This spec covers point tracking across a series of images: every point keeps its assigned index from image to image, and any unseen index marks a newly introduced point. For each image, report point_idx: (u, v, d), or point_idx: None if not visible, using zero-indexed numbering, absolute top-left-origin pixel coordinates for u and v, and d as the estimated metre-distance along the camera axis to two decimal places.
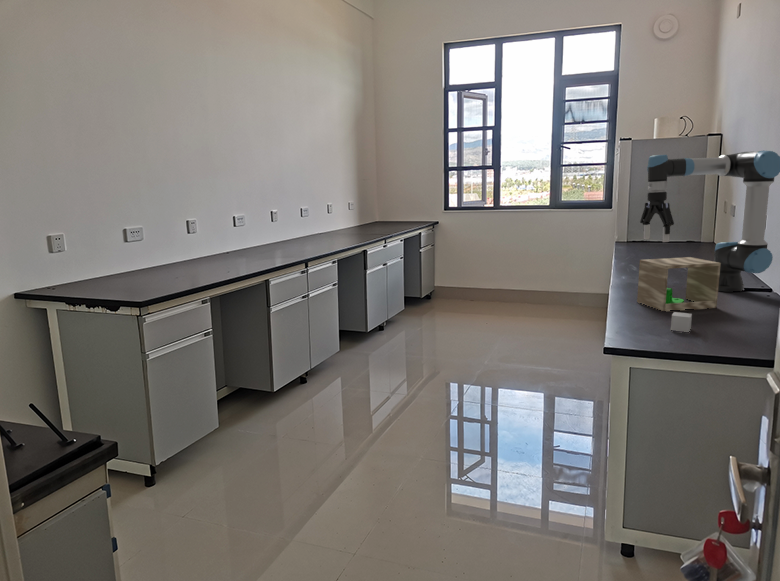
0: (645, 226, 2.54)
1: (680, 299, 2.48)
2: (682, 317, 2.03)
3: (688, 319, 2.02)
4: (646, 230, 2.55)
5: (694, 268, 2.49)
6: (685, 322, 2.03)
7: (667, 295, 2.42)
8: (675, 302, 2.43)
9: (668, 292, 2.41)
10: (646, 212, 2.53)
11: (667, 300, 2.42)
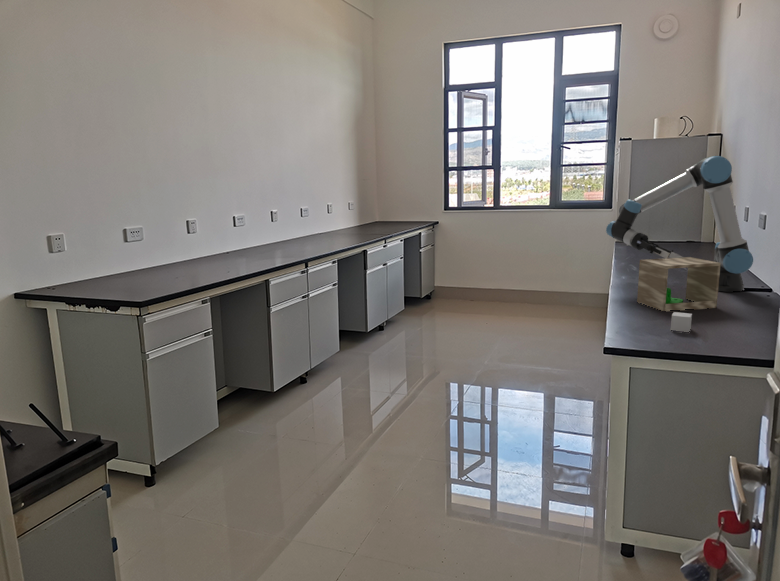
0: (670, 256, 2.59)
1: (679, 299, 2.48)
2: (682, 317, 2.03)
3: (688, 319, 2.02)
4: None
5: (694, 268, 2.49)
6: (685, 322, 2.03)
7: None
8: (673, 302, 2.43)
9: (666, 292, 2.42)
10: None
11: None
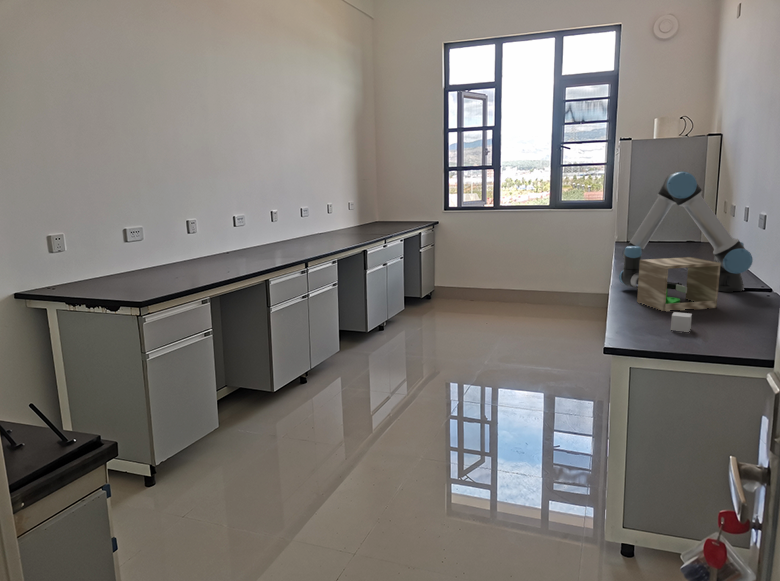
0: (676, 289, 2.53)
1: (677, 298, 2.48)
2: (682, 317, 2.03)
3: (688, 319, 2.02)
4: (679, 289, 2.51)
5: (694, 268, 2.49)
6: (685, 322, 2.03)
7: None
8: (669, 301, 2.44)
9: None
10: None
11: None
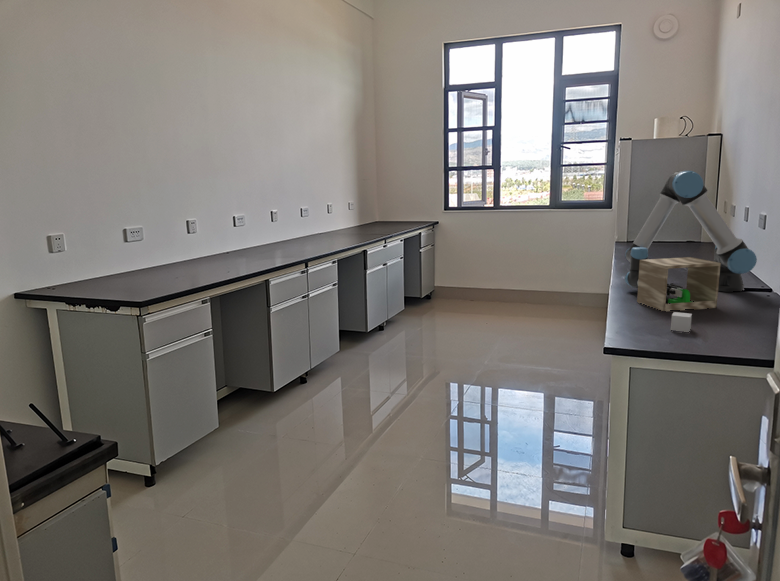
0: None
1: None
2: (682, 317, 2.03)
3: (688, 319, 2.02)
4: None
5: (694, 268, 2.49)
6: (685, 322, 2.03)
7: (688, 296, 2.37)
8: None
9: (688, 293, 2.37)
10: None
11: (688, 301, 2.38)
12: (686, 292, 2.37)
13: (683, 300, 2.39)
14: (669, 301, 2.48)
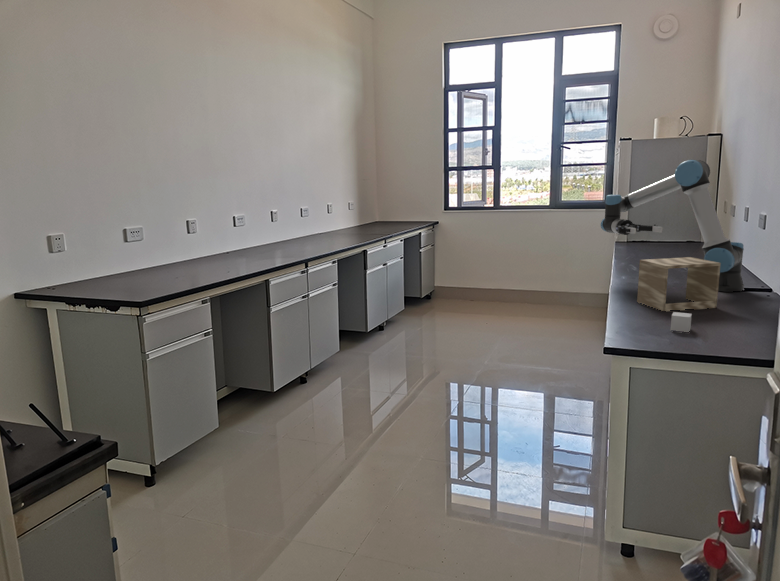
0: (653, 230, 2.71)
1: None
2: (682, 317, 2.03)
3: (688, 319, 2.02)
4: (655, 230, 2.69)
5: (694, 268, 2.49)
6: (685, 322, 2.03)
7: None
8: None
9: None
10: None
11: None
12: None
13: None
14: None
